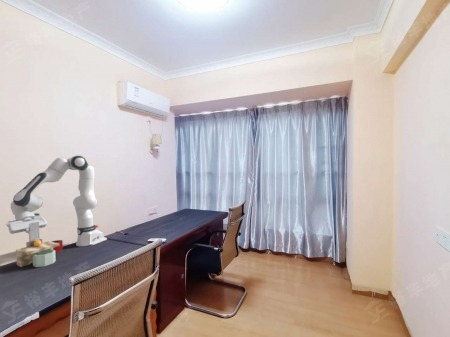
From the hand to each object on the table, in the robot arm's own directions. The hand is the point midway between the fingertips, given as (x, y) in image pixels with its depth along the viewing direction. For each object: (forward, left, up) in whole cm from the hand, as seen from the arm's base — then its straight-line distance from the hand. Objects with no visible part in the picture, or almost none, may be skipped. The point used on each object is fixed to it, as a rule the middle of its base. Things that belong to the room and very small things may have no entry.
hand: (32, 234), depth 154 cm
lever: (-12, -5, -18) cm, 22 cm away
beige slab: (0, +7, -17) cm, 19 cm away
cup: (0, +14, -17) cm, 22 cm away
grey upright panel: (0, +2, -7) cm, 8 cm away
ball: (0, +6, -5) cm, 8 cm away
